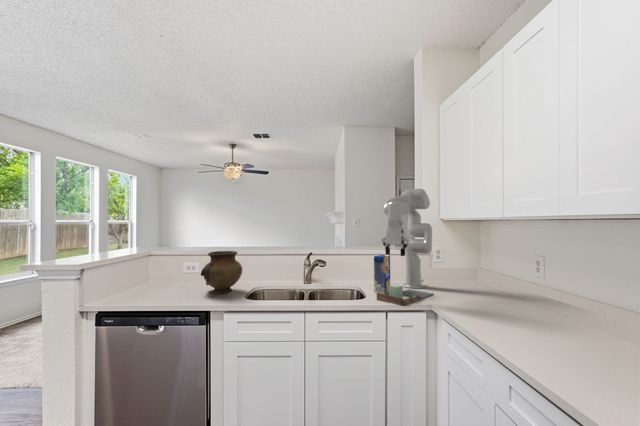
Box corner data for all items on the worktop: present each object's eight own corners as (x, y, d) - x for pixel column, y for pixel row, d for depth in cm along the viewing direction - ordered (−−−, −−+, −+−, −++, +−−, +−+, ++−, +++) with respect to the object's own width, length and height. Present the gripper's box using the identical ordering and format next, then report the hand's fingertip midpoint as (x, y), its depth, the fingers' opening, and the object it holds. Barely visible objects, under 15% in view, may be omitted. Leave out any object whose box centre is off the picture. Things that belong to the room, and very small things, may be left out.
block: (395, 298, 171) (394, 284, 171) (402, 300, 167) (402, 285, 168) (388, 300, 167) (388, 286, 167) (396, 302, 163) (396, 287, 164)
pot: (204, 299, 173) (203, 255, 173) (197, 291, 193) (196, 252, 193) (247, 292, 185) (246, 252, 186) (237, 286, 206) (236, 249, 206)
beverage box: (390, 290, 193) (390, 255, 193) (385, 293, 183) (384, 257, 184) (380, 288, 196) (379, 254, 197) (374, 292, 187) (373, 256, 187)
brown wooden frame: (396, 294, 181) (396, 288, 182) (420, 299, 170) (420, 292, 170) (376, 299, 169) (376, 293, 169) (401, 305, 157) (401, 298, 157)
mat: (409, 290, 191) (409, 289, 191) (433, 294, 179) (433, 293, 179) (396, 294, 182) (396, 292, 182) (421, 299, 170) (421, 297, 170)
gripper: (412, 224, 165) (412, 255, 164) (386, 224, 178) (386, 253, 177) (404, 224, 160) (405, 256, 159) (378, 224, 173) (378, 254, 172)
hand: (395, 255), depth 168 cm, fingers open, 9 cm apart
